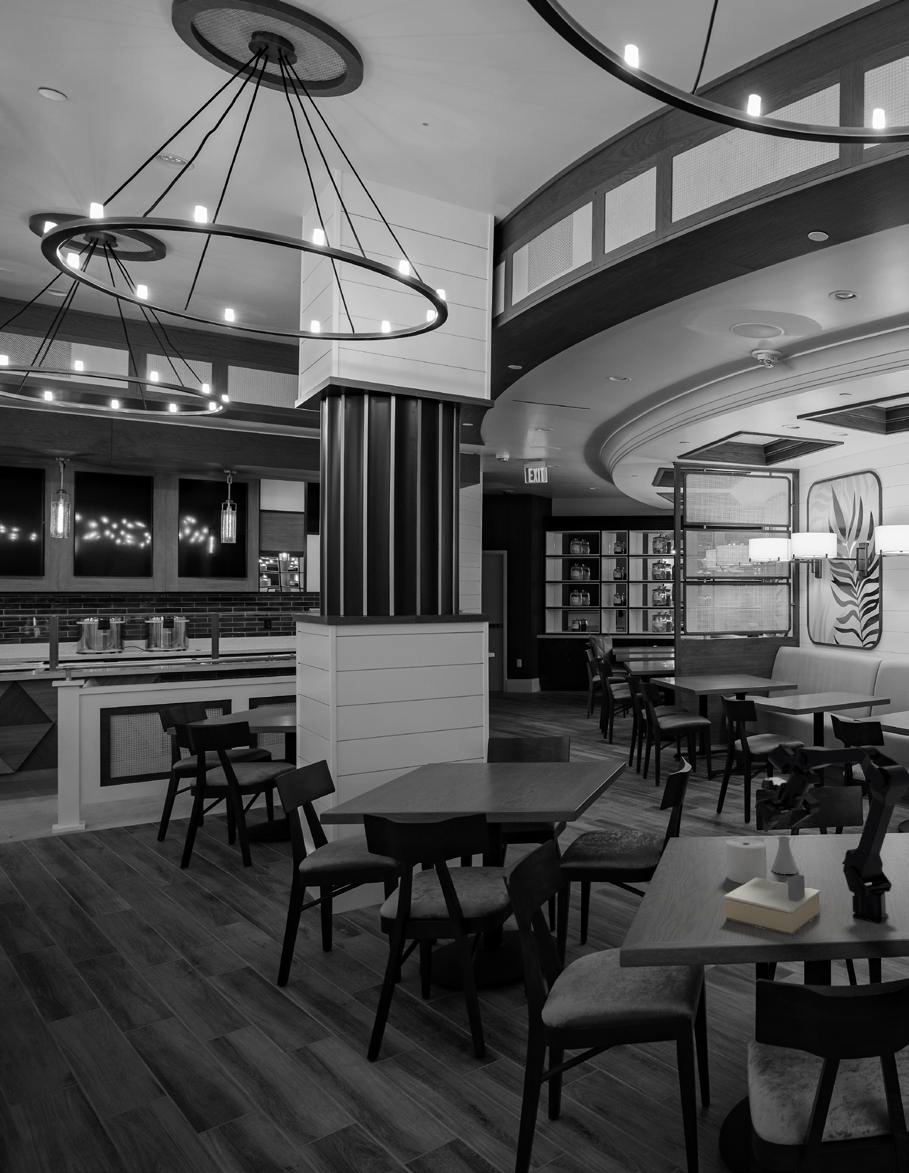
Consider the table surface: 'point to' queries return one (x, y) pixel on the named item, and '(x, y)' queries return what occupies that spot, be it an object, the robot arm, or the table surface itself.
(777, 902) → the carton lid
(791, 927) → the carton
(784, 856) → the flask
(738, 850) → the toilet tissue
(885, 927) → the table surface
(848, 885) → the robot arm
